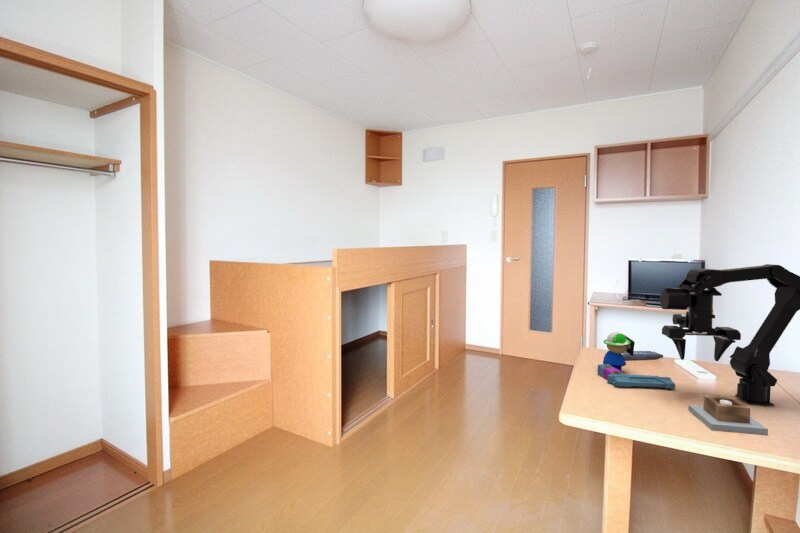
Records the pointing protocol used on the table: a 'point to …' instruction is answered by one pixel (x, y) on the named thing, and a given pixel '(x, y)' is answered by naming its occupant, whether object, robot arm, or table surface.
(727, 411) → the collar
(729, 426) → the peg base
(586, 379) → the table surface
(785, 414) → the table surface
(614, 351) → the toy
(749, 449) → the table surface
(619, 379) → the toy gun
